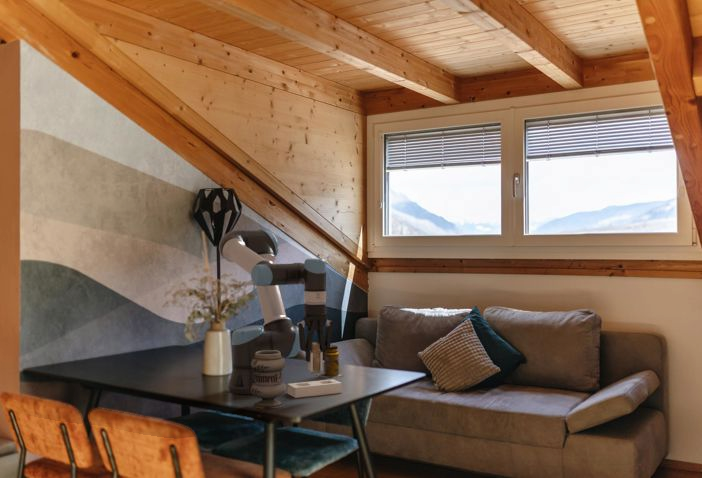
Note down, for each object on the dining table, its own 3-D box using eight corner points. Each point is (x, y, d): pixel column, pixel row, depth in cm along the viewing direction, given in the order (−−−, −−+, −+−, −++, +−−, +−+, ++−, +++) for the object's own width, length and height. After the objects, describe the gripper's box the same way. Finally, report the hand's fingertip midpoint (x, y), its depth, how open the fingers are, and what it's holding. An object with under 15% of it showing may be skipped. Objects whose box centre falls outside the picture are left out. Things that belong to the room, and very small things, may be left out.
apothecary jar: (250, 410, 232) (250, 355, 232) (250, 402, 244) (249, 349, 244) (287, 408, 234) (287, 353, 234) (285, 400, 246) (284, 348, 246)
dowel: (312, 373, 247) (312, 344, 247) (309, 371, 250) (309, 343, 249) (320, 372, 248) (320, 343, 248) (317, 370, 251) (317, 342, 251)
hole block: (295, 397, 250) (295, 387, 250) (287, 393, 258) (287, 383, 258) (342, 392, 258) (342, 383, 258) (333, 388, 265) (333, 379, 265)
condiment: (343, 375, 291) (342, 346, 291) (325, 378, 286) (325, 348, 286) (333, 373, 297) (333, 344, 297) (316, 375, 292) (315, 346, 292)
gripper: (297, 305, 242) (297, 374, 242) (340, 303, 248) (340, 370, 249) (289, 303, 249) (289, 370, 249) (332, 301, 255) (332, 366, 256)
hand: (315, 370), depth 249 cm, fingers closed on dowel, 3 cm apart
